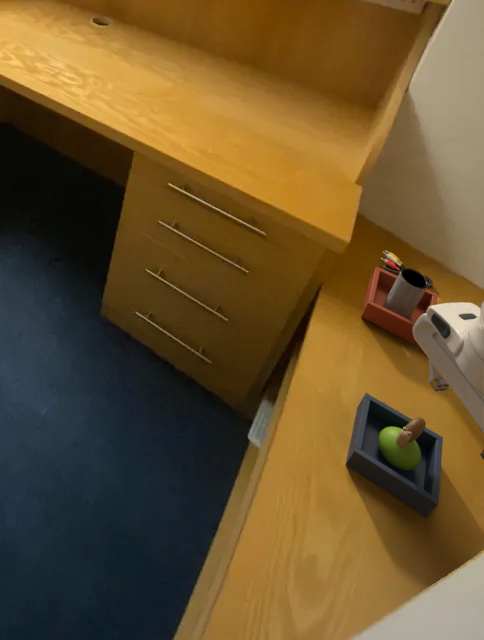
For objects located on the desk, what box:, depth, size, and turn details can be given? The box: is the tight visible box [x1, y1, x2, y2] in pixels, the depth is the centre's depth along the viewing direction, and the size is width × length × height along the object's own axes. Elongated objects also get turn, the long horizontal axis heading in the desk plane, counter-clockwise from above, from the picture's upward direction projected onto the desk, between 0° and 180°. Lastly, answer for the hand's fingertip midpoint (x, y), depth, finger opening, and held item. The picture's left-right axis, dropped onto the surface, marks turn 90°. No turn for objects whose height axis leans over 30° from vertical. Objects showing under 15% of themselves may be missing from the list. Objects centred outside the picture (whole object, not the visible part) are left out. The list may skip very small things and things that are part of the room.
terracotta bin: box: [360, 266, 439, 348], centre depth 101 cm, size 11×11×5 cm
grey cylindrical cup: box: [383, 267, 429, 320], centre depth 99 cm, size 4×4×10 cm
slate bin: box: [345, 392, 444, 519], centre depth 79 cm, size 11×11×5 cm
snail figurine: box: [378, 416, 427, 471], centre depth 77 cm, size 5×6×12 cm
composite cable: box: [380, 249, 434, 288], centre depth 109 cm, size 10×5×2 cm, turn 42°
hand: (461, 421), depth 71 cm, fingers open, 8 cm apart
